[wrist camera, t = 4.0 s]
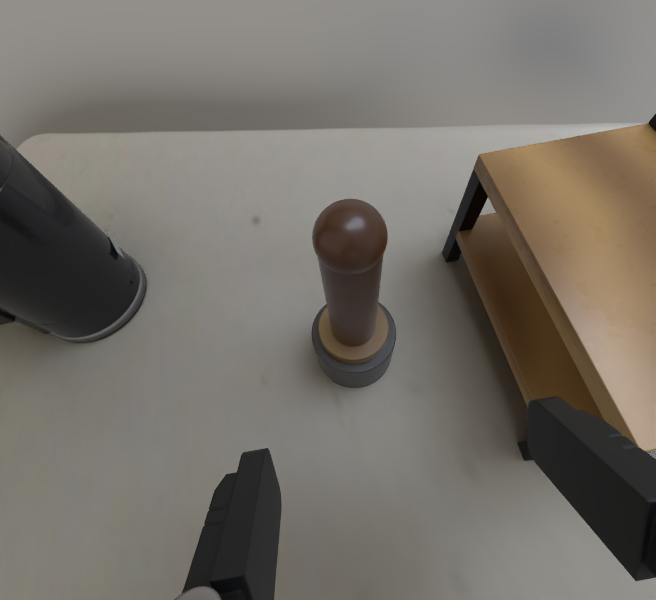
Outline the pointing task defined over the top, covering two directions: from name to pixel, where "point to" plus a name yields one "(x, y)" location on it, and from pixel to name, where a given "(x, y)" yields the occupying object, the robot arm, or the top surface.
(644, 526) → the robot arm
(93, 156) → the top surface
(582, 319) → the tan black-edged stand
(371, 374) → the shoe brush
